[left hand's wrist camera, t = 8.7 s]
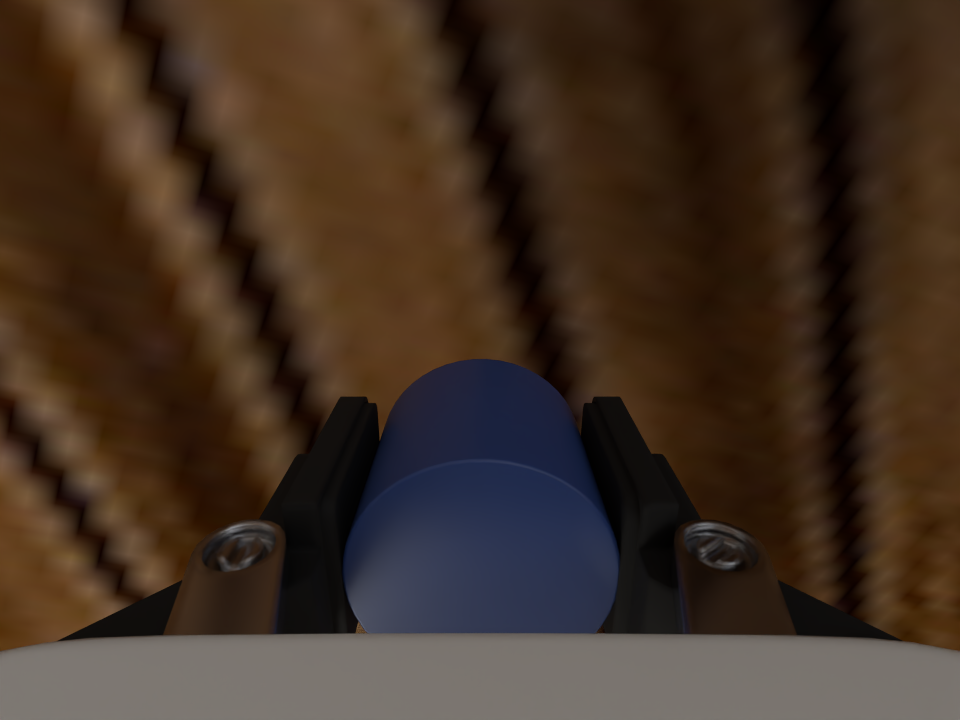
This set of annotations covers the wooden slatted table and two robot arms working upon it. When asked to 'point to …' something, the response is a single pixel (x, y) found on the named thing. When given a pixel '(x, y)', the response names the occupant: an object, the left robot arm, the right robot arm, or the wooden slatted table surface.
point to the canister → (481, 512)
